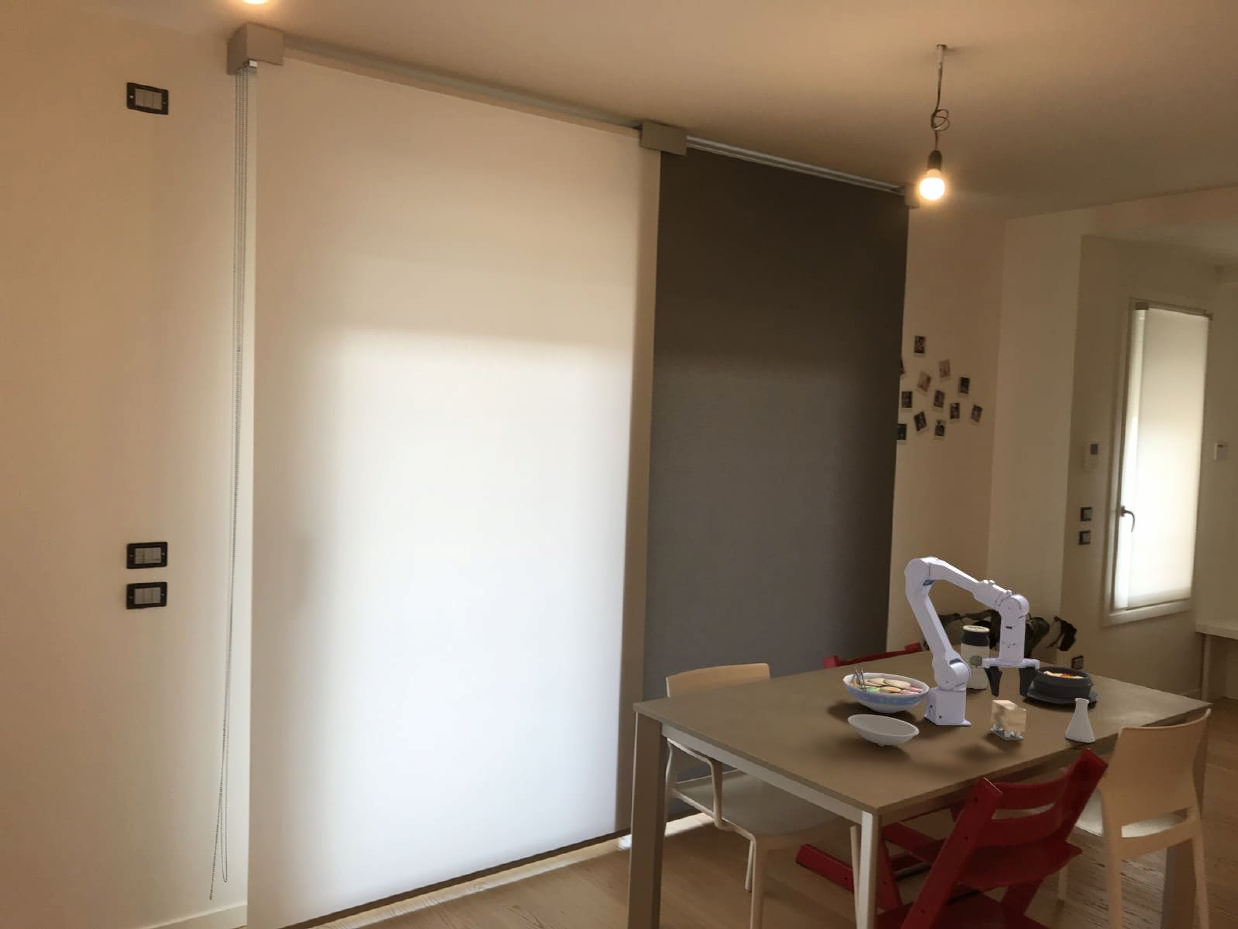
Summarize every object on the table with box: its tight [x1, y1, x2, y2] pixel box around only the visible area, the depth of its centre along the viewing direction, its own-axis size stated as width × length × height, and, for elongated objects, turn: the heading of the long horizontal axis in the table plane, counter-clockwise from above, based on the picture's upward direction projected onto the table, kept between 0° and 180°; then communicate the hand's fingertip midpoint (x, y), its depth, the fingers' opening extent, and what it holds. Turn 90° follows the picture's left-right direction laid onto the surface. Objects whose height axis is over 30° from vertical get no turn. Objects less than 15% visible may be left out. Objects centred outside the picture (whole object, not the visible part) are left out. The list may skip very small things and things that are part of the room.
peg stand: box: [989, 723, 1025, 741], centre depth 241 cm, size 5×7×2 cm
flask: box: [1064, 698, 1096, 744], centre depth 241 cm, size 7×7×10 cm
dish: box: [847, 714, 920, 747], centre depth 229 cm, size 18×14×5 cm
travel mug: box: [960, 625, 991, 690], centre depth 289 cm, size 8×8×18 cm
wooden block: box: [990, 699, 1027, 733], centre depth 241 cm, size 8×4×6 cm, turn 7°
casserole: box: [1027, 665, 1099, 706], centre depth 278 cm, size 25×19×8 cm
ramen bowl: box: [842, 666, 930, 714], centre depth 259 cm, size 25×23×8 cm
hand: (1009, 695), depth 241 cm, fingers open, 7 cm apart
